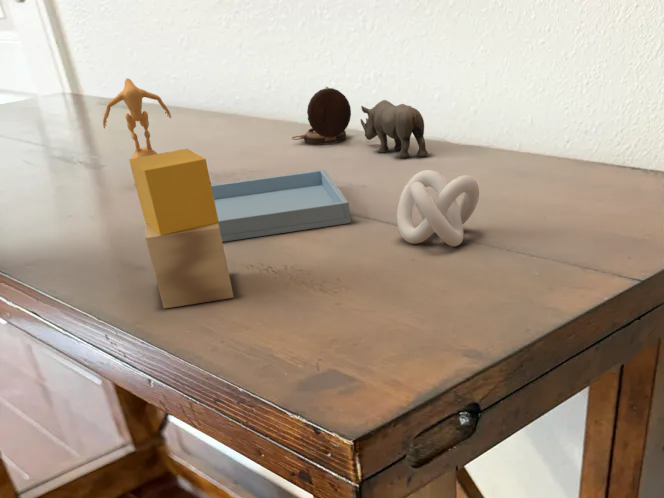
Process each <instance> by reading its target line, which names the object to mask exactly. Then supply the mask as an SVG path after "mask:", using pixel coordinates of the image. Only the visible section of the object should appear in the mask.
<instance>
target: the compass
mask: <svg viewBox="0 0 664 498" xmlns="http://www.w3.org/2000/svg"><path fill="white" fill-rule="evenodd" d="M306 110H307V111H306V114H307V121H308V123H309V126H310V127H311V128H309V129H307V131H306V133H304V134H300V135H295V136H292V137H291V140H293V141H294V140H295V141H296V140H298V141H299V140H304V142H306V143H307V144H311V145H325V144H333V143H338V142H341V141H343V140H345V139H346V137H347V133H346V132H347V131H346V129H347V128H348V126H349V124H350V121H351V116H352V109H351V104H350V102H349V100H348V98H347V96H345V95H344V93H342V92H341V91H340V90H338V89H336V88H333V87H331V88H330V87H328V86H325V87H324V88H321V89H320V90H318V91H317V92H316V93H314V94H313V96H312V97H311V98H310V99H309V102H308V105H307V109H306Z"/></svg>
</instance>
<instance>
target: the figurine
mask: <svg viewBox="0 0 664 498" xmlns="http://www.w3.org/2000/svg"><path fill="white" fill-rule="evenodd" d="M143 98H147V99H151V100H154V101H157V102H158V103H159V105H160V107H161V108H162V109H163V110H164V111H165V112H164V114H167V116H168V118H172V114H171V113H170V112H171V111H170V110H169V109H168V107H167V106H166V104H165V103H164V102H163V100H162V98H161V96H160V95H157V94H156V93H153V92H149V91H147V90H145V89H143V88H139V87H138V86H136V85H135V84H134V82H133V81H132V79H130V78H129V77H128V78H125V80H124V88H123V89H122V91H121V92H119V93H118V94H117V95H116V96H115V97H113V98H112V99H111V100H109V101H108V103H106V109H105V111H104V114H103V119H102V125H103V129H104V130H105V129H106V127H107V123H108V121H107V119H108V118H109V115H110V112H111V108H112V107H113V106H115V105H117V104H118V103H120V102H122V101H123V102H124V104H125V106H126V108H127V109H128V110H129V113H126V114H125V115H124V118H125V120H126V124H127V125H126V127H127V129H128V131H129V132H130V134H131V135H130V136H131V139H132V140H133V141H134V145H135V146H134V147H135V150H134V152H133V154H132V156H131V158H130V159H133V158H139V157H144V156H149V155H155V154H159V153H158V152H157V151H156V150H154V149H153V147H152V145H151V140H150V138H151V133H150V131H149V130H148V128H149V125H150V121H149V113H148V112H147V111H146V110H143V111H142V109H143ZM137 122H139V124H140V126H142V127H143V129H144V137H145V145H146V147H142V148H141V147H140V143H139V140H138V139H139V138H138V135H137V133H135V131H134V129H135V128H136V127H137Z"/></svg>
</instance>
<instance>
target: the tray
mask: <svg viewBox="0 0 664 498" xmlns="http://www.w3.org/2000/svg"><path fill="white" fill-rule="evenodd" d="M211 187H212V192H213V197H214V202H215V207H216V212H217V216H218V221H219V223H218V224H219V228H220V233H221V238H222V243H223V242H224V243H225V242H231V241H239V240H245V239H251V238H257V237H265V236H273V235H277V234H278V235H279V234H285V233H292V232H293V233H294V232H299V231H305V230H311V229H313V230H314V229H319V228H325V227H332V226H339V225H347V224H351V222H352V221H351V211H350V203H349V201H348V199H347V198H346V197H345V196H344V194H343V193H342V191H341V190H340V189H339V187H338V186H337V185H336V183H335V181H334V180H333V179H332V178H331V176H330V175H329V173H328V172H327V171H326V169H318V170H310V171H302V172H295V173H289V174H288V173H287V174H280V175H273V176H267V177H259V178H252V179H251V178H250V179H244V180H237V181H229V182H222V183H215V184H211Z"/></svg>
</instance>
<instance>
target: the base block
mask: <svg viewBox="0 0 664 498" xmlns="http://www.w3.org/2000/svg"><path fill="white" fill-rule="evenodd" d="M145 242H146V246H147V249H148V254H149V257H150V261H151V265H152V269H153V272H154V276H155V280H156V285H157V287H158V288H157V289H158V291H159V296H160V299H161V303H162V307H163V309H173V308H178V307H184V306H189V305H190V306H191V305H197V304H203V303H209V302H216V301H222V300H228V299H233V298H234V297H235V296H234V291H233V288H232V283H231V278H230V273H229V268H228V263H227V257H226V253H225V248H224V244H223V242H222V238H221V233H220V228H219V224H218V223H215V224H211V225H206V226H202V227H197V228H193V229H188V230H184V231H179V232H175V233H170V234H166V235H160V234H159V233H157V232H156V231H155V230H154V229H153V228H152V227H151V226H150V225H148V224H147V223H146V222H145Z"/></svg>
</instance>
